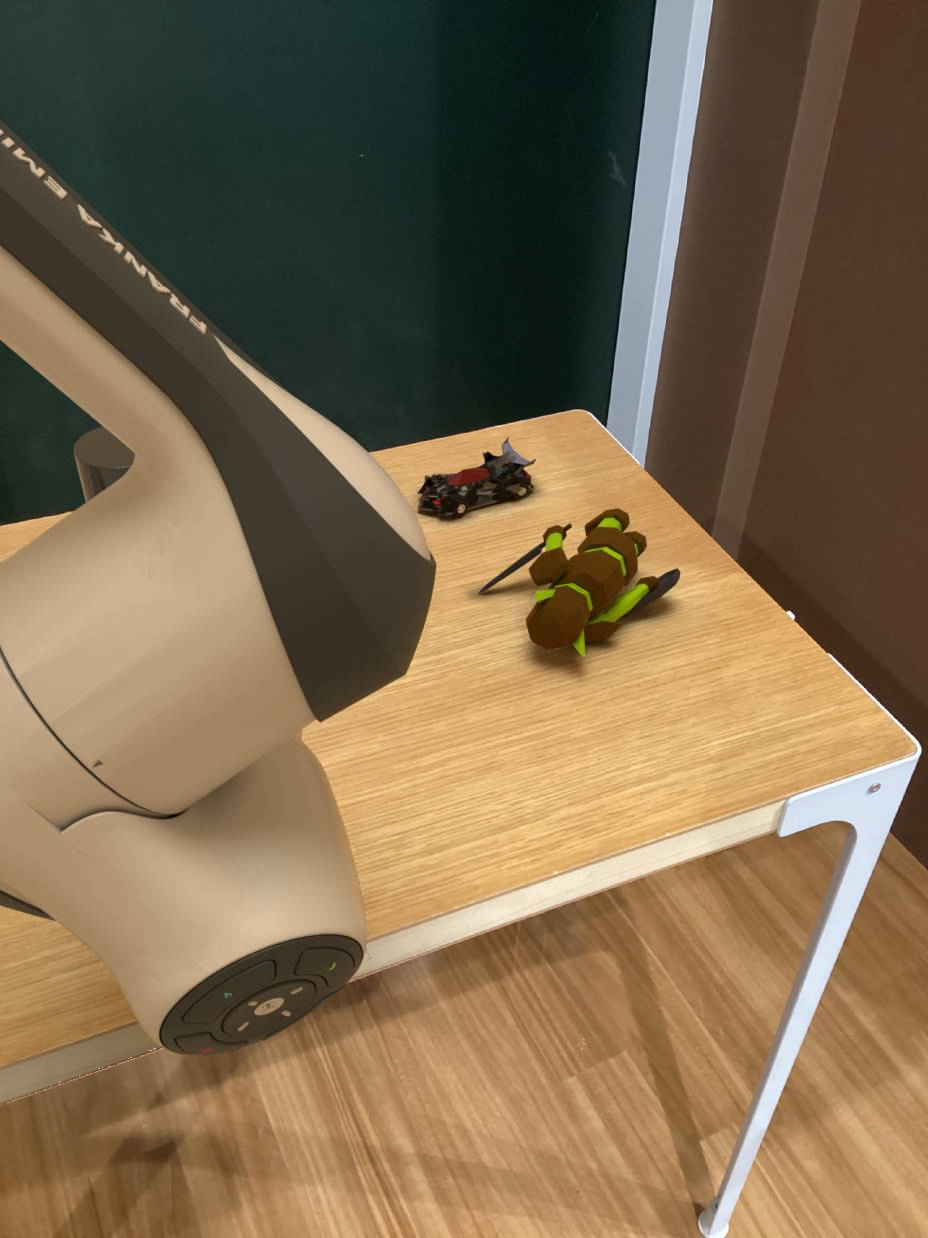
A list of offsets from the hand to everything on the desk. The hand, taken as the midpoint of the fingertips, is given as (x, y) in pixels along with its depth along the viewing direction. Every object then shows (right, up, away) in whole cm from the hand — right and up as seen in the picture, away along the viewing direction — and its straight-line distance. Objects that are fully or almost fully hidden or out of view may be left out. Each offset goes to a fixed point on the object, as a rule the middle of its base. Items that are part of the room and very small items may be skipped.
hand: (134, 519), depth 56 cm
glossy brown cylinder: (0, -4, +3) cm, 5 cm away
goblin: (+26, -5, +35) cm, 44 cm away
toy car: (+18, +7, +49) cm, 53 cm away
